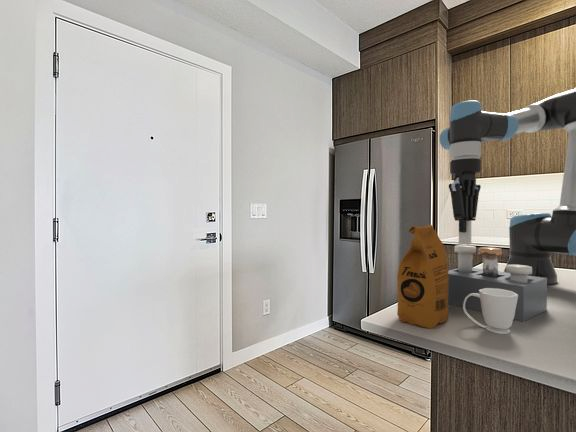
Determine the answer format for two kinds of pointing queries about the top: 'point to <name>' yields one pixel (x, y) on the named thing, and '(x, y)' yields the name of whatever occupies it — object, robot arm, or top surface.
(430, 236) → the coffee package
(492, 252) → the brown lidded jar
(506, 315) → the cup
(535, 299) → the grey pod holder
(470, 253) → the knob
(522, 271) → the knob
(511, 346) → the top surface
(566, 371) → the top surface
